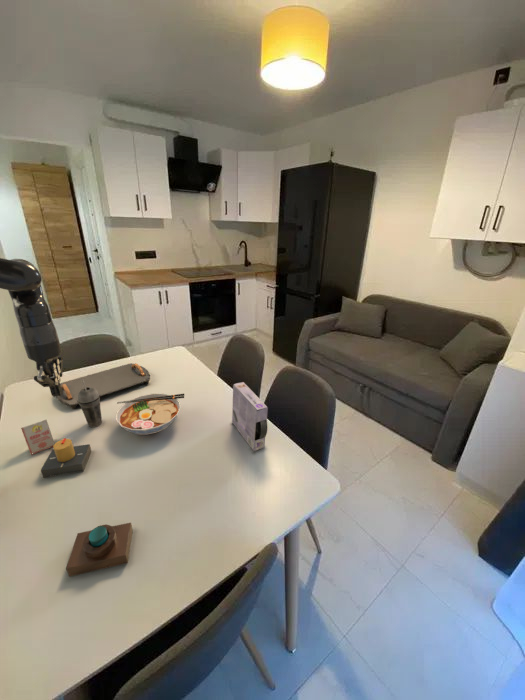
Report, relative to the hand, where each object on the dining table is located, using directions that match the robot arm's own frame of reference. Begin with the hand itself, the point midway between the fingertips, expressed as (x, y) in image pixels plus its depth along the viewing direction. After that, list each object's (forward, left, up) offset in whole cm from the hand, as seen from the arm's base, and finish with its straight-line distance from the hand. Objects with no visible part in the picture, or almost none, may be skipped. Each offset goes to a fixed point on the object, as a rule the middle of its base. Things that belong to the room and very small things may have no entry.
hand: (57, 394), depth 83 cm
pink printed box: (-14, +10, -26) cm, 31 cm away
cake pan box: (+56, +1, -26) cm, 62 cm away
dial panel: (-3, 0, -26) cm, 26 cm away
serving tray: (-2, +48, -26) cm, 55 cm away
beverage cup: (0, +20, -26) cm, 33 cm away
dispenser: (+14, -32, -26) cm, 43 cm away
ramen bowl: (+21, +14, -26) cm, 36 cm away
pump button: (+14, -32, -21) cm, 41 cm away
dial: (-3, 0, -23) cm, 23 cm away
